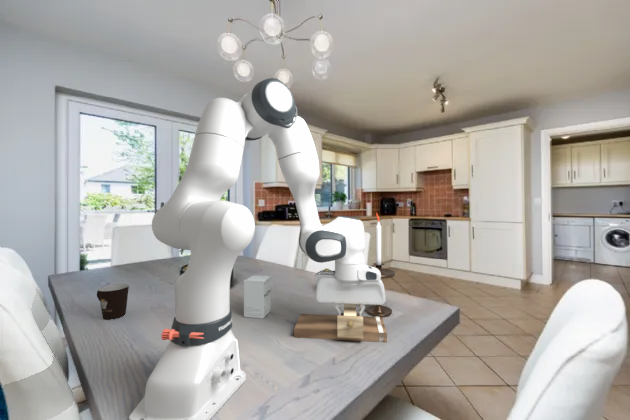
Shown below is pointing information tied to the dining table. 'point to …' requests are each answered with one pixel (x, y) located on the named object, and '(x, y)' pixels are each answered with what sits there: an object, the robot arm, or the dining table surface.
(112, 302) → the coffee mug
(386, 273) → the candlestick
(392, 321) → the dining table surface
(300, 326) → the board
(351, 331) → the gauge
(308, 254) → the robot arm
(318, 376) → the dining table surface
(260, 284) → the supplement box
